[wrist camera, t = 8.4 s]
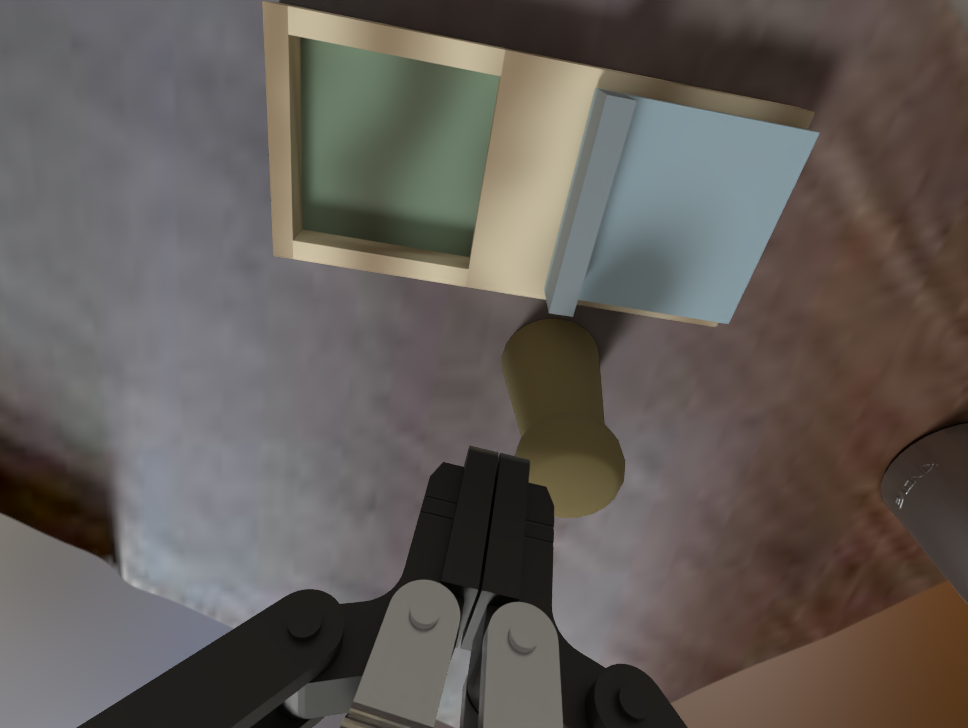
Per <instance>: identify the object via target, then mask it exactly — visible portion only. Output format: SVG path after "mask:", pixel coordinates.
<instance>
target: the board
mask: <svg viewBox="0 0 968 728" xmlns="http://www.w3.org/2000/svg"><path fill="white" fill-rule="evenodd" d="M262 2H263V25H264V49H265V72H266V95H267V119H268V142H269V165H270V188H271V212H272V235H273V256H278V257H284V258H290V259H296V260H302V261H309V262H315V263H321V264H327V265H334V266H340V267H346V268H352V269H358V270H365V271H371V272H377V273H383V274H389V275H396V276H402V277H408V278H414V279H420V280H427V281H433V282H439V283H445V284H451V285H458V286H464V287H470V288H476V289H482V290H489V291H495V292H501V293H507V294H514V295H520V296H526V297H532V298H538V299H545V300H546V297H545V292H544V287H545V283H546V279H547V275H548V272H549V268H550V264H551V260H552V256H553V252H554V248H555V244H556V240H557V236H558V232H559V228H560V224H561V220H562V217H563V213H564V209H565V205H566V201H567V197H568V193H569V189H570V185H571V181H572V177H573V173H574V169H575V166H576V162H577V158H578V154H579V150H580V146H581V142H582V138H583V134H584V130H585V126H586V122H587V118H588V115H589V111H590V107H591V103H592V99H593V95H594V91H595V88H601V89H606V90H611V91H616V92H621V93H626V94H631V95H636V96H641V97H646V98H651V99H656V100H661V101H666V102H671V103H676V104H681V105H686V106H692V107H697V108H702V109H707V110H712V111H717V112H722V113H727V114H732V115H737V116H742V117H747V118H752V119H757V120H762V121H767V122H772V123H777V124H782V125H788V126H793V127H798V128H803V129H808V128H809V126H810V124H811V122H812V119H813V117H814V115H815V113H816V112H813V111H810V110H806V109H802V108H799V107H795V106H791V105H786V104H781V103H776V102H771V101H766V100H761V99H756V98H751V97H746V96H741V95H736V94H731V93H726V92H721V91H716V90H711V89H706V88H701V87H696V86H691V85H687V84H682V83H677V82H672V81H667V80H662V79H657V78H652V77H647V76H642V75H637V74H632V73H627V72H622V71H617V70H612V69H607V68H602V67H597V66H592V65H587V64H582V63H577V62H572V61H567V60H562V59H557V58H552V57H548V56H543V55H538V54H533V53H528V52H523V51H518V50H513V49H508V48H503V47H498V46H493V45H488V44H483V43H478V42H473V41H468V40H463V39H458V38H453V37H448V36H443V35H438V34H433V33H428V32H423V31H418V30H414V29H409V28H404V27H399V26H394V25H389V24H384V23H379V22H374V21H369V20H364V19H359V18H354V17H349V16H344V15H339V14H334V13H329V12H324V11H319V10H314V9H309V8H304V7H299V6H294V5H289V4H284V3H279V2H269V1H262ZM577 305H582V306H588V307H594V308H600V309H607V310H613V311H619V312H625V313H631V314H638V315H644V316H650V317H656V318H662V319H669V320H675V321H681V322H687V323H693V324H700V325H706V326H712V327H716V326H717V324H718V322H712V321H706V320H700V319H694V318H688V317H682V316H675V315H669V314H663V313H657V312H651V311H645V310H638V309H632V308H626V307H620V306H614V305H608V304H601V303H595V302H589V301H583V300H578V302H577Z"/></svg>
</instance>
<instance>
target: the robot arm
mask: <svg viewBox="0 0 968 728" xmlns="http://www.w3.org/2000/svg"><path fill="white" fill-rule="evenodd" d="M529 471H530V460H528V459H524V458H519V457H515V456H511V455H507V454H503V453H500V455H499V458H498V452H494V451H490V450H486V449H481V448H477V447H473V446H469V449H468V453H467V457H466V460H465V464H464V467H462V466H458V465H453V464H449V463H445V462H443V463H442V464H441V465H440V466H439V467H438V468H437V469H436V471H435V472H434V473H433V474H432V475H431V476H430V479H429V482H428V486H427V489H426V493H425V497H424V500H423V504H422V507H421V511H420V515H419V518H418V522H417V525H416V529H415V532H414V536H413V540H412V543H411V547H410V550H409V554H408V557H407V561H406V565H405V568H404V571H403V574H402V576H401V578H400V580H399V582H398V583H397V584H396V585H395V587H394V588H393V589H391V590H390V591H389V592H388V593H386V594H385V595H383V596H381V597H379V598H377V599H374V600H370V601H364V602H355V603H345V604H339V603H338V602H337V600H336V599H335V598H334V597H332V596H331V595H330V594H328V593H326V592H323V591H320V590H314V589H306V590H300V591H297V592H294V593H291V594H289V595H287V596H286V597H284V598H282V599H281V600H279V601H278V602H276V603H274V604H273V605H271V606H270V607H268V608H266V609H265V610H263V611H262V612H260V613H258V614H257V615H255V616H254V617H252V618H250V619H249V620H247V621H246V622H244V623H242V624H241V625H239V626H238V627H236V628H235V629H233V630H231V631H230V632H228V633H227V634H225V635H223V636H222V637H220V638H219V639H217V640H215V641H214V642H212V643H211V644H209V645H208V646H206V647H205V648H203V649H201V650H200V651H198V652H196V653H195V654H194V655H192V656H190V657H189V658H187V659H185V660H184V661H182V662H180V663H179V664H178V665H176V666H174V667H173V668H171V669H169V670H168V671H166V672H165V673H163V674H162V675H160V676H158V677H157V678H155V679H153V680H152V681H150V682H149V683H147V684H145V685H144V686H142V687H141V688H139V689H137V690H136V691H134V692H133V693H131V694H130V695H128V696H126V697H125V698H123V699H122V700H120V701H119V702H117V703H115V704H114V705H112V706H110V707H109V708H107V709H106V710H104V711H102V712H101V713H99V714H98V715H96V716H95V717H93V718H91V719H90V720H88V721H87V722H85V723H83V724H82V725H80V726H79V727H77V728H312V727H313V726H315V725H316V724H317V723H318V722H320V721H321V720H322V719H323V718H324V717H325V716H329V715H336V714H342V713H348V714H347V715H346V716H345V718H344V720H343V722H342V724H341V726H340V728H434V724H435V720H436V716H437V712H438V708H439V704H440V700H441V696H442V692H443V688H444V684H445V680H446V676H447V672H448V668H449V664H450V660H451V657H452V655H453V652H454V649H455V647H456V648H457V647H458V644H459V642H460V639H461V636H462V642H461V648H462V649H466V650H470V651H471V657H470V664H469V671H468V675H467V677H466V680H465V683H464V686H463V691H462V703H461V715H460V728H687V726H686V725H685V724H684V722H683V721H682V719H681V718H680V716H679V715H678V714H677V712H676V711H675V709H674V708H673V707H672V705H671V704H670V702H669V701H668V700H667V698H666V697H665V695H664V694H663V693H662V691H661V690H660V688H659V687H658V686H657V684H656V683H655V682H654V681H653V680H652V679H651V678H650V677H649V676H648V675H647V674H646V673H644V672H643V671H642V670H640V669H638V668H636V667H634V666H631V665H627V664H615V665H611V666H609V667H607V668H605V667H603V666H601V665H600V664H598V663H597V662H595V661H593V660H592V659H590V658H588V657H587V656H585V655H583V654H582V653H580V652H579V651H577V650H576V649H574V648H573V647H572V646H571V645H570V644H569V643H568V642H567V641H566V640H565V639H564V638H563V636H562V635H561V633H560V632H559V630H558V628H557V626H556V624H555V621H554V618H553V613H552V578H553V541H554V530H553V527H554V504H553V501H552V499H551V496H550V494H549V492H548V489H547V487H546V486H541V485H537V484H533V483H529ZM881 495H882V498H883V501H884V502H885V503H886V505H887V506H888V507H889V508H890V510H891V511H892V512H893V513H894V515H895V516H896V517H897V518H898V520H899V521H900V522H901V523H902V524H903V526H904V527H905V528H906V529H907V531H908V532H909V533H910V534H911V536H912V537H913V538H914V539H915V540H916V542H917V543H918V544H919V545H920V547H921V548H922V550H923V551H924V552H925V553H926V554H927V556H928V557H929V558H930V559H931V560H932V562H933V563H934V564H935V565H936V567H937V568H938V569H939V570H940V571H941V573H942V574H943V575H944V576H945V578H946V579H947V580H948V581H949V582H950V584H951V585H952V586H953V587H954V589H955V590H956V591H957V592H958V593H959V595H960V596H961V597H962V598H963V600H964V601H965V602H966V603H967V604H968V423H965V424H959V425H956V426H952V427H949V428H946V429H942V430H940V431H938V432H935V433H933V434H931V435H928V436H926V437H925V438H923V439H921V440H919V441H918V442H916V443H914V444H913V445H911V446H910V447H909V448H908V449H906V450H905V451H904V452H902V453H901V454H900V455H899V456H898V457H897V458H896V459H895V460H894V461H893V462H892V464H891V465H890V466H889V468H888V469H887V471H886V473H885V474H884V477H883V480H882V483H881ZM462 633H463V635H462Z"/></svg>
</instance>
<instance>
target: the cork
mask: <svg viewBox="0 0 968 728" xmlns="http://www.w3.org/2000/svg"><path fill="white" fill-rule="evenodd" d="M502 370H503V374H504V378H505V381H506V385H507V388H508V392H509V395H510V399H511V402H512V406H513V410H514V413H515V417H516V420H517V424H518V427H519V431H520V434H521V440H520V442H519V445H518V447H517V450H516V454H515V457H519V458H524V459H528V460H530V471H529V483H533V484H537V485H541V486H546V487H547V489H548V492H549V494H550V496H551V499H552V501H553V504H554V516H556V517H561V518H577V517H582V516H586V515H590V514H593V513H595V512H597V511H599V510H601V509H603V508H605V507H606V506H607V505H608V504H609V503H610V502H611V501H612V500H613V499H614V498H615V496H616V495H617V493H618V491H619V489H620V487H621V485H622V483H623V482H624V472H625V459H624V456H623V453H622V450H621V447H620V444H619V441H618V439H617V438H616V437H615V435H614V434H613V433H612V432H611V431H610V429H609V428H608V427H607V426H606V425H605V423H604V411H603V399H602V386H601V374H600V362H599V352H598V349H597V346H596V343H595V340H594V339H593V337H592V336H591V335H590V334H589V333H588V331H587V330H586V329H584V328H583V327H581V326H579V325H578V324H576V323H574V322H572V321H567V320H563V319H559V318H556V319H541V320H538V321H536V322H533V323H530V324H527V325H525V326H524V327H523V328H521V329H520V330H518V331H517V332H516V333H514V334H513V336H512V337H511V338H510V340H509V341H508V342H507V344H506V345H505V349H504V352H503V355H502Z"/></svg>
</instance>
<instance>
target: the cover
mask: <svg viewBox="0 0 968 728" xmlns="http://www.w3.org/2000/svg"><path fill="white" fill-rule="evenodd" d="M818 135H819V132H816V131H813V130H808V129H803V128H798V127H793V126H788V125H782V124H777V123H772V122H767V121H762V120H757V119H752V118H747V117H742V116H737V115H732V114H727V113H722V112H717V111H712V110H707V109H702V108H697V107H692V106H686V105H681V104H676V103H671V102H666V101H661V100H656V99H651V98H646V97H641V96H636V95H631V94H626V93H621V92H616V91H611V90H606V89H601V88H595V91H594V95H593V99H592V103H591V107H590V111H589V115H588V118H587V122H586V126H585V130H584V134H583V138H582V142H581V146H580V150H579V154H578V158H577V162H576V166H575V169H574V173H573V177H572V181H571V185H570V189H569V193H568V197H567V201H566V205H565V209H564V213H563V217H562V220H561V224H560V228H559V232H558V236H557V240H556V244H555V248H554V252H553V256H552V260H551V264H550V268H549V272H548V275H547V279H546V283H545V287H544V292H545V297H546V302H547V307H548V312H549V313H551V314H557V315H564V316H570V317H573V315H574V312H575V308H576V305H577V302H578V300H583V301H589V302H595V303H601V304H608V305H614V306H620V307H626V308H632V309H638V310H645V311H651V312H657V313H663V314H669V315H675V316H682V317H688V318H694V319H700V320H706V321H712V322H719V323H725V324H729V322H730V320H731V318H732V316H733V313H734V311H735V309H736V307H737V305H738V303H739V301H740V299H741V297H742V295H743V293H744V290H745V288H746V286H747V284H748V282H749V280H750V278H751V276H752V274H753V272H754V269H755V267H756V265H757V263H758V261H759V259H760V257H761V255H762V253H763V251H764V249H765V246H766V244H767V242H768V240H769V238H770V236H771V234H772V232H773V230H774V228H775V225H776V223H777V221H778V219H779V217H780V215H781V213H782V211H783V209H784V207H785V205H786V202H787V200H788V198H789V196H790V194H791V192H792V190H793V188H794V186H795V184H796V181H797V179H798V177H799V175H800V173H801V171H802V169H803V167H804V165H805V163H806V161H807V158H808V156H809V154H810V152H811V150H812V148H813V146H814V144H815V142H816V140H817V137H818Z"/></svg>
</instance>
